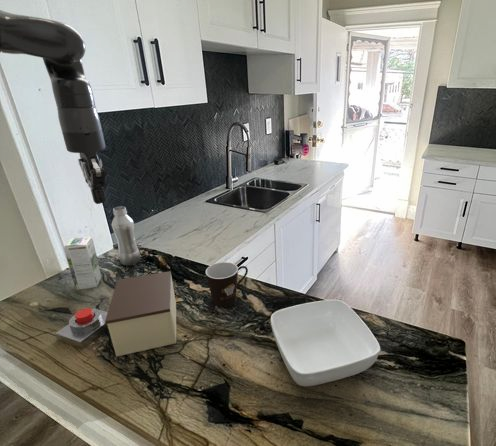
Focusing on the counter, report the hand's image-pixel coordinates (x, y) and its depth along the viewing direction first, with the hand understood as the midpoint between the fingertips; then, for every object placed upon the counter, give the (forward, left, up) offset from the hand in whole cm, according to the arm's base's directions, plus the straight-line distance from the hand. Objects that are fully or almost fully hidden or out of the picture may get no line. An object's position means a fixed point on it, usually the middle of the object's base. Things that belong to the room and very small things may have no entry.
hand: (99, 202), depth 76 cm
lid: (-6, -14, -20) cm, 25 cm away
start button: (-12, -1, -26) cm, 28 cm away
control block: (-12, -1, -30) cm, 32 cm away
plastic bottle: (+17, +15, -30) cm, 38 cm away
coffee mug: (+11, -27, -30) cm, 42 cm away
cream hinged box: (-6, -14, -30) cm, 33 cm away
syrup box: (+3, +17, -30) cm, 34 cm away
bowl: (0, -57, -30) cm, 64 cm away
